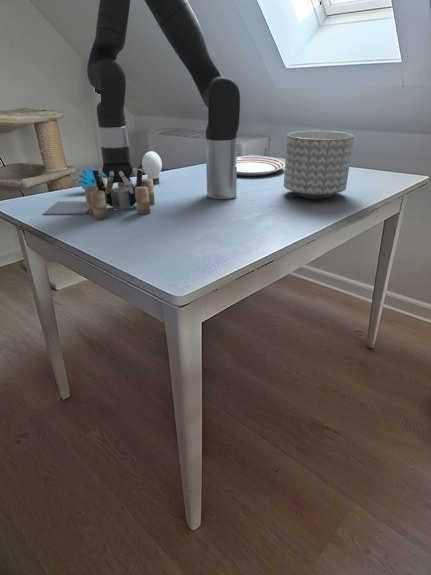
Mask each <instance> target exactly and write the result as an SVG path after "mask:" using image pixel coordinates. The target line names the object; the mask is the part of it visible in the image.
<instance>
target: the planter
mask: <svg viewBox="0 0 431 575" xmlns="http://www.w3.org/2000/svg"><path fill="white" fill-rule="evenodd" d="M354 137H355V136H354V134H352V133H348V132H342V131H334V130H333V131H332V130H300V131H293V132H289V133H287V134H286V145H285V146H286V148H285V160H284V163H285V167H284V176H283V187H284V188H285V189H287V190H289V191H292V193H293V194H295V195H297V196H299V197H301V198H303V199H308V200H323V199H326V198H330V197H332V196H334V195H335V194H338V193H339V194H340V193H342V192H344V191H346V189H347V185H348V178H349V177H348V176H349V173H350V166H351V157H352V151H353V143H354Z"/></svg>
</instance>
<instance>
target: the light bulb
mask: <svg viewBox="0 0 431 575" xmlns="http://www.w3.org/2000/svg"><path fill="white" fill-rule="evenodd" d="M162 163H163V162H162V159H161V157H160V155H159V154H158V153H157V152H155V151H150V150H149V151H148V152H146V153H145V154H144V155H143V157H142V161H141V164H142V165H141V166H142V169H143V173H145V174H146V175H147V178H146V179H152V180H153V186H155V185H159V184H160V177H159V174H161V171H162V167H163V165H162Z"/></svg>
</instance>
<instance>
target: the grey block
mask: <svg viewBox="0 0 431 575" xmlns="http://www.w3.org/2000/svg"><path fill="white" fill-rule="evenodd" d="M129 194H130V192H129V190H128V188H127V187H118V186H117V187H112V189H111V199H112V206H111V207H112V210H113V209H116V210H115V211H118V210H120V211H119V212H122V211H121V210H124V211H128V209H130V210H131V209H132V208H131V207H133V206H131V204H130V196H129Z"/></svg>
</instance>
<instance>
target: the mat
mask: <svg viewBox="0 0 431 575" xmlns="http://www.w3.org/2000/svg"><path fill="white" fill-rule="evenodd" d="M87 214H89V213H88V207H87V201H86V200H82V201H81V200H76V201H75V200H74V201H73V200H71V201H70V200H65V201H64V200H62V201H61V200H60V201H57V202H55V203H54V204H53V205H51V206H50V207H48V209H46V210H45V211H44V212H42V215H43V216H51V215H52V216H63V215H64V216H71V215H73V216H76V215H78V216H79V215H80V216H81V215H85V216H86V215H87Z"/></svg>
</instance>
